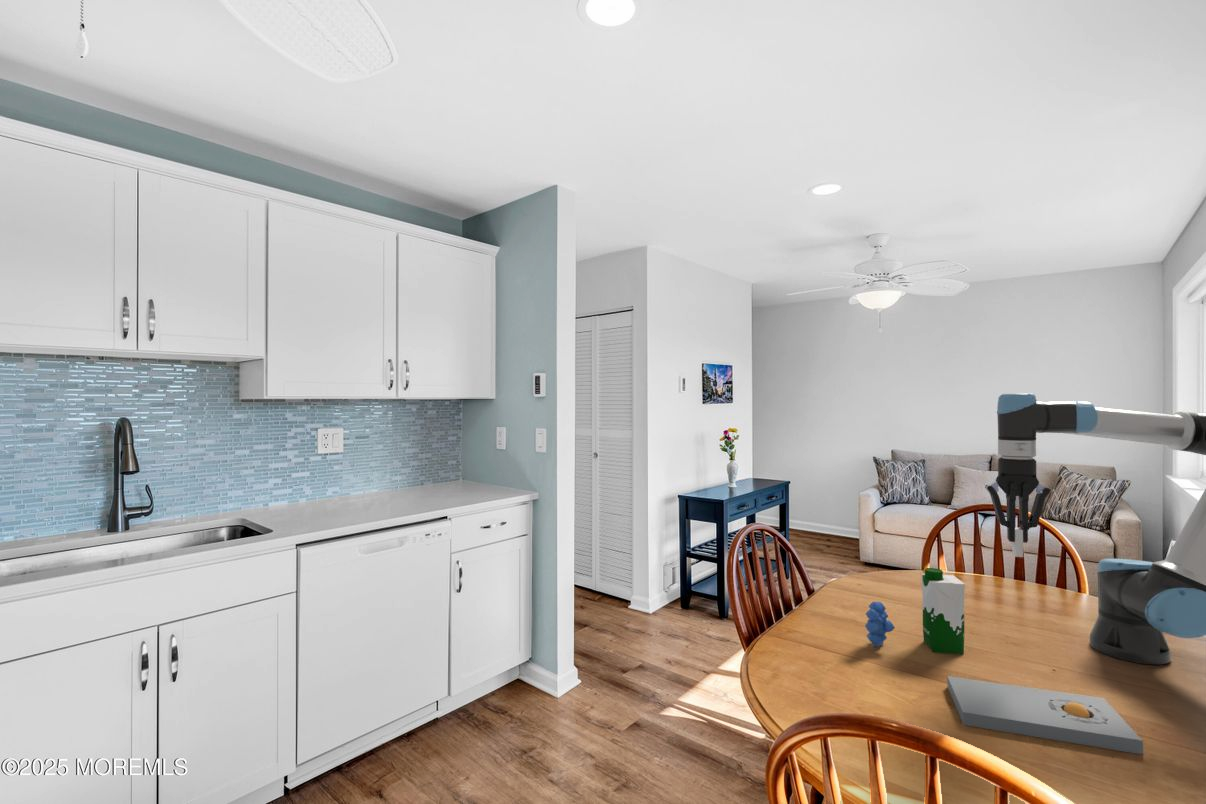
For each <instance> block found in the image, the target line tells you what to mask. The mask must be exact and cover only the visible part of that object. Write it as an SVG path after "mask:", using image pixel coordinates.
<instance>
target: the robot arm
mask: <svg viewBox="0 0 1206 804" xmlns="http://www.w3.org/2000/svg"><path fill="white" fill-rule="evenodd" d="M996 410H997V411H996V414H997V455H998V456H1000V457H999V458H998V459H997V477H996V478H995V482H992V483H991V484H986V485H985V487H984V488H985V490H986V491H987V492H988V493H989V495H990V499H991V502H992V505H993V508H994V511H995V515H996V519H997V522H998V524H1000V525H1001V526H1003V527H1005V528H1006V530H1007V531H1006V532H1007V540H1008V542H1009V543H1011V542H1012V543H1011V547H1012V548H1011V549H1012V552H1011V553H1012V555H1013V556H1014V557H1015V558H1024V544H1026V543H1028V541H1029V530H1030V529H1032V528H1037V527H1038V525H1039V521H1040V519H1041V514H1042V511H1043V507H1044V504H1045V500H1046V498H1047V497H1048V495H1050V493H1051V489H1050V488H1049V487H1046V486H1044V485H1042V484H1041V483H1040V481H1039V479H1038V477H1037V460H1036V459H1035V457H1036V456H1037V434H1042V433H1043V434H1044V433H1047V434H1048V433H1049V434H1055V433H1056V434H1066V435H1077V436H1085V437H1092V438H1093V437H1094V438H1101V439H1102V438H1104V439H1111V440H1121V441H1128V442H1129V441H1130V442H1138V443H1145V444H1155V445H1157V444H1158V445H1162V446H1163V445H1165V446H1167V447H1168V448H1170V450H1173V451H1180V452H1190V453H1194V454H1197V455H1201V456H1202V455H1203V456H1206V412H1187V411H1177V412H1174V413H1172V414H1166V413H1157V412H1156V413H1155V412H1146V411H1137V410H1136V411H1135V410H1127V409H1126V410H1125V409H1118V408H1117V409H1116V408H1108V407H1107V408H1106V407H1097V406H1095V405H1094V404H1093V403H1091V402H1089V401H1084V400H1083V401H1082V400H1080V401H1079V400H1061V401H1058V400H1053V401H1051V400H1050V401H1048V400H1047V401H1045V400H1044V401H1041V400H1040V401H1039V400H1037V398H1036V394H1035V393H1002V394H1001V395H999V396H998V399H997V409H996ZM999 489H1000V490H1002V491H1003V492H1004V494H1005V500H1006V516H1005V513H1004V509H1003V505H1002V503H1001V499H1000V496H999V493H998V492H999ZM1034 491H1035V492H1036V494H1035V497H1034V501H1033V505H1032V506H1031V508H1032V509H1031V511H1030V514H1029V500H1030V497H1029V496H1031V494H1032V493H1033V492H1034ZM1017 497H1018V498H1017ZM1017 499H1018V517H1019V518H1018V523H1019V524H1018V525H1019V527H1016V501H1017ZM1165 557H1166V558H1165V559H1163V560H1158V561H1154V562H1153V561H1147V560H1138V559H1130V558H1129V559H1128V558H1104V559H1101V560H1099V561H1098V565H1097V571H1096V574H1097V604H1098V605H1097V607H1098V609H1097V610H1098V614H1097V615H1098V616H1097V618H1096V620H1095V622H1094V624H1093V627H1092V629H1091V632H1090V634H1089V645H1090V646H1091V648H1093V649H1094V650H1096V651H1098V652H1099V653H1102V654H1104V655H1107V656H1110V657H1112V658H1115V659H1119V660H1122V661H1127V662H1132V663H1137V664H1142V665H1143V664H1145V665H1166V664H1168V663H1170V662H1171V661H1172V659H1171V658H1172V655H1171V653H1172V652H1171V648H1170V647H1169V644H1168V642H1167V639H1166V636H1165V635H1164V633H1165V634H1169V635H1171V636H1173V637H1177V638H1181V639H1196V638H1202V637H1204V636H1206V488H1205V489H1204V491H1203V493H1202V495H1201V496H1200V498H1199V499H1198V502H1197V503H1196V505H1195V507H1194V509H1193V510H1192V512H1191V514H1190V515H1189V517H1188V519H1187V520H1186V522H1185V524H1184V526H1183V528H1182V529H1181V531H1180V533H1179V535H1178V536H1177V538H1176V540H1175V542H1174V543H1173V545H1172V547H1171V549H1170V551H1169V552H1168V554H1167V556H1165Z"/></svg>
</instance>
